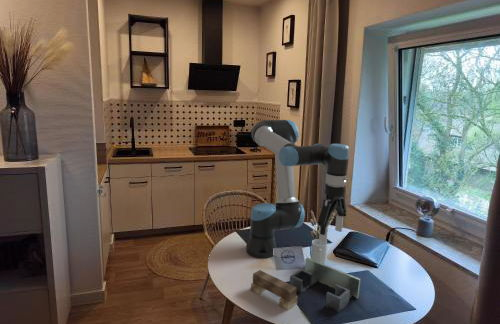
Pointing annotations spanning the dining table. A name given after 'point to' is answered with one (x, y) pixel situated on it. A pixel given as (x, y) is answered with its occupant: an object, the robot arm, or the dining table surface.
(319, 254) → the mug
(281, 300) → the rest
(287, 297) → the rail
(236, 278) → the dining table surface
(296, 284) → the bracket
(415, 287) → the dining table surface
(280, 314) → the dining table surface
